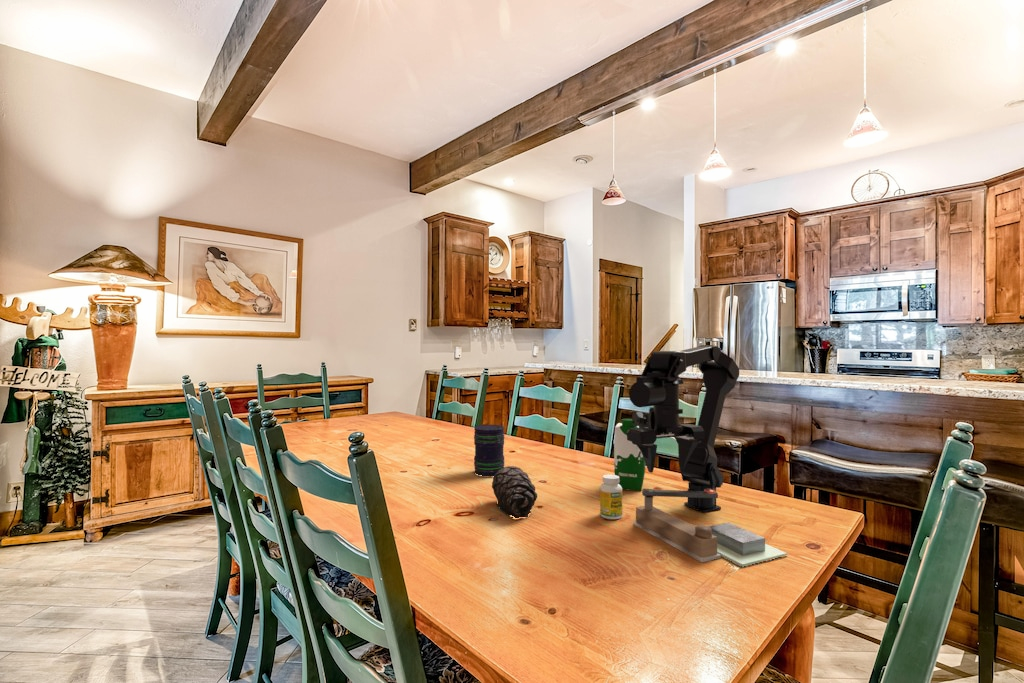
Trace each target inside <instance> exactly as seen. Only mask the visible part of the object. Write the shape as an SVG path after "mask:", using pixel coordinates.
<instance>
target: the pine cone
mask: <svg viewBox="0 0 1024 683" xmlns="http://www.w3.org/2000/svg"><path fill="white" fill-rule="evenodd" d="M491 489H492V490H493V494H494V496H495V497H496V499H497V500H496V501H498V504H497V503H496V506H497V505H498V506H497V508H499V507H500V509H499V510H500V511H501V512H502V511H503V512H502V513H504V515H506V514H508V515H512V516H514V517H515V518H519V517H528V514H529V513H531V514H532V508H533V506H535V502H536V501H537V499H538V493H537V492H536V486H535V485H534V484H533V483H532V481H531V479H530V477H529V475H528V473H527V472H525V471H524V470H523V469H522V468H520V467H517V466H514V465H512V466H511V465H510V466H509V465H507V466H504V468H502V469H500V470H499V471H498V472H497V473H496V474H495V475H494V477H492V483H491ZM530 510H531V511H530ZM511 518H513V517H511ZM511 518H510V519H511ZM528 518H529V517H528Z"/></svg>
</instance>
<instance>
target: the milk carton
mask: <svg viewBox="0 0 1024 683" xmlns="http://www.w3.org/2000/svg"><path fill="white" fill-rule="evenodd" d="M630 428H639V426H634V425H633V422H632V418H622V419H621V422H618V423H616V425H615V426H614V440H613V447H614V449H613V451H614V452H613V456H614V457H613V458H614V461H613V462H614V464H613V467H614V475H617V476H619V483H618V484H619V485H620V486H621V487H622V490H625V489H629V490H628V491H636V490H638V491H639V492H642V490H643V485H644V479H645V474H646V463H645V460H644V458H643V455H642V453H641V451H640V449H639V447H638V446H637V445H635V444H632V441H628V440H627V432H628V430H629V429H630ZM638 491H637V492H638Z"/></svg>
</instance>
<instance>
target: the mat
mask: <svg viewBox="0 0 1024 683" xmlns="http://www.w3.org/2000/svg"><path fill="white" fill-rule="evenodd" d="M717 553H718V554H720V555H721V558H723V557H724V558H723V559H725V558H726V559H725V560H727V559H728V560H727V561H729V560H730V561H729V562H731V561H732V562H731V563H733V564H735V565H737V564H738V565H737V566H739V567H741V566H742V567H741V568H745V567H744V566H746V567H749V566H748V565H750V566H753V565H752V564H754V565H756V564H755V563H758V564H760V563H759V562H762V561H766V560H770V559H773V558H777V557H782V556H785V555H787V556H788V552H786V551H783V550H780V549H779V548H776V547H774V546H772V545H769V544H767V543H765V551H762V552H757V553H753V554H749V555H745V556H742V555H740V554H738V553H736V552H734V551H732V550H730V549H728V548H726V547H724V546H722V545H720V544H718V543H717ZM782 558H783V557H782ZM770 561H771V560H770ZM766 562H767V561H766ZM762 563H763V562H762Z"/></svg>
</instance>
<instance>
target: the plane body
mask: <svg viewBox="0 0 1024 683" xmlns="http://www.w3.org/2000/svg"><path fill="white" fill-rule="evenodd" d="M653 502H654V497H646V496H644V505H642V506H641V505H640V506H636V507H635V521H633V523H632V524H633V525H634V526H635V527H638V528H639V529H641V530H643V531H645V532H646V533H648V534H650V535H652V536H654V537H655V538H657V539H659V540H661V541H662V542H665V543H666V544H668V545H670V546H671V547H673V548H675V549H677V550H679V551H680V552H683V553H684V554H686V555H688V556H690V557H691V558H693V559H695V560H697V561H698V562H700V563H706V562H710V561H715V560H718V559H721V558H722V557H721V555H720V554H718V553H717V537H716V536H714V535H712V528H710V527H708V526H709V525H705V524H697V525H693V524H691V523H689V522H686V521H685V520H683V519H680V518H678V517H676V516H674V515H672V514H670V513H668V512H666V511H663V510H662V509H660V508H657V507H654V503H653ZM714 559H715V560H714Z"/></svg>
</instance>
